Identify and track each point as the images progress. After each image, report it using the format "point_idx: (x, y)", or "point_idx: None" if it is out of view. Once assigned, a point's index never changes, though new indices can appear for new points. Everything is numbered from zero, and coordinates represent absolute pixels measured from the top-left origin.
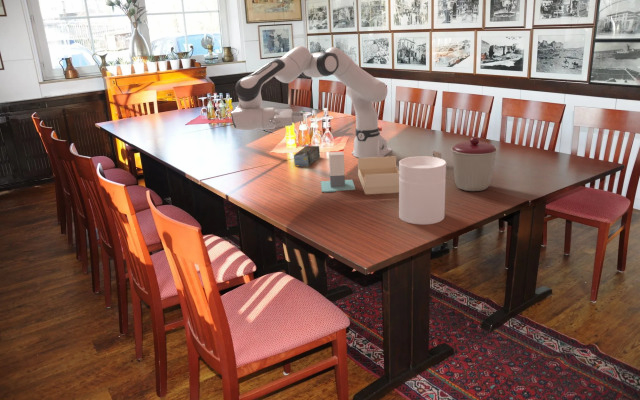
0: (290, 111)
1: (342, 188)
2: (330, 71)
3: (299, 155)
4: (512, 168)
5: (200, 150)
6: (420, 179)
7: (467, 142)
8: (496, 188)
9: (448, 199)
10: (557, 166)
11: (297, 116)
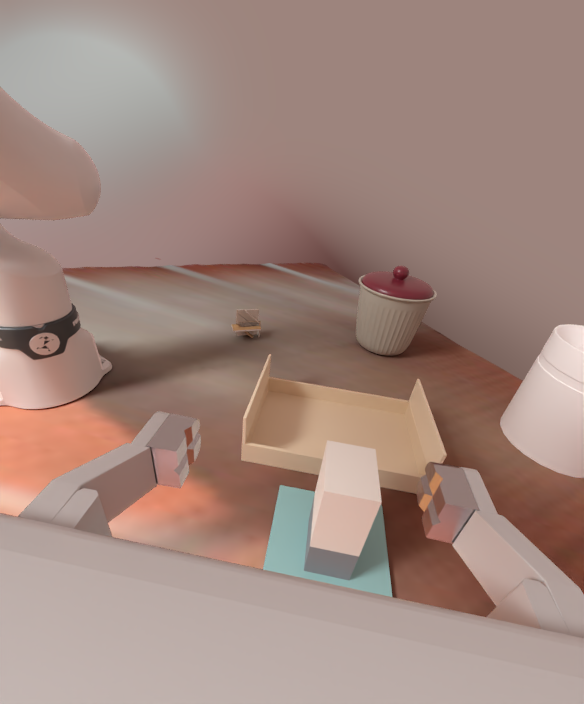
0: (118, 571)
1: (368, 541)
2: None
3: None
4: (301, 297)
5: None
6: None
7: (380, 278)
8: None
9: (440, 382)
10: (309, 279)
11: (130, 501)
